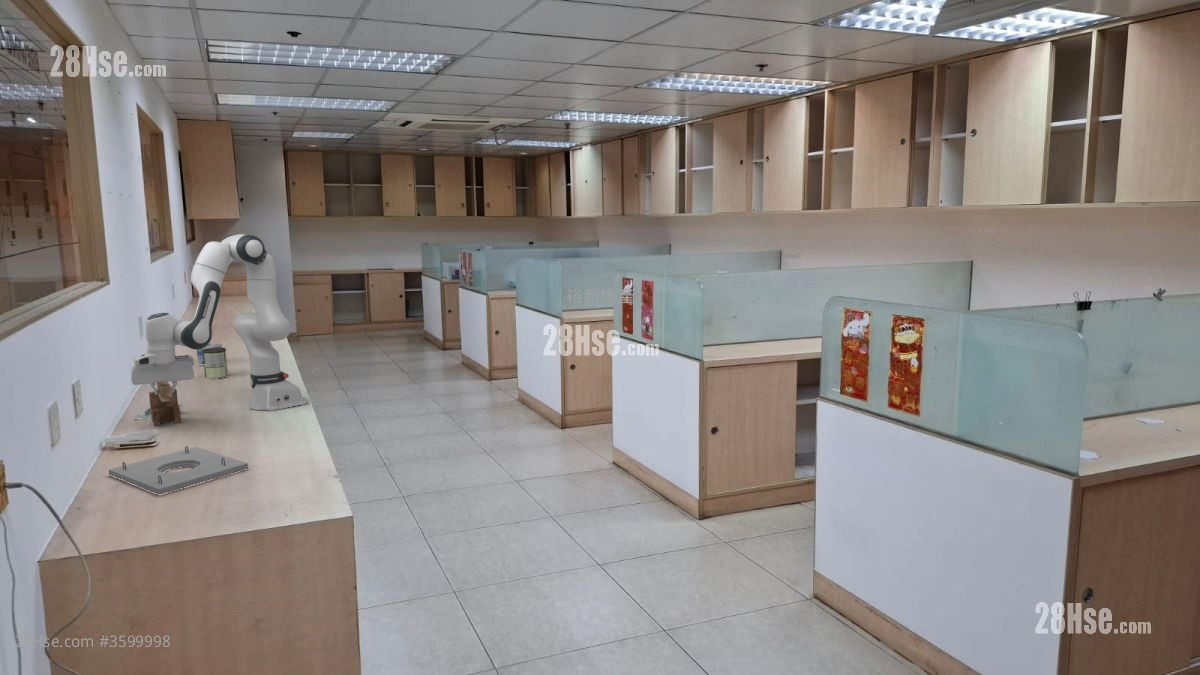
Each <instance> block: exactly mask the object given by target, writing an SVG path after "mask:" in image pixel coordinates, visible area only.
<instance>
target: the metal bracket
mask: <svg viewBox="0 0 1200 675" xmlns="http://www.w3.org/2000/svg"><path fill="white" fill-rule="evenodd" d="M178 406H179V408H180V409H181V407H182V406H183V404H181V403H178ZM133 418H142V419H151V420H150V421H152V418H151V408H150V407H149V408H148V409H145V410H144V413H143V414H137V415H135V416H134V417H133Z"/></svg>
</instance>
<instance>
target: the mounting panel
mask: <svg viewBox="0 0 1200 675" xmlns="http://www.w3.org/2000/svg"><path fill="white" fill-rule="evenodd" d="M179 467H194V468H189V469H188V470H183V471H175V472H165V473H163V472H164V471H166V470H169V469H174V468H179ZM179 469H180V468H179ZM244 469H248V470H249V463H248V462H245V461H242V460H238V459H236V458H232V457H229V456H226V455H223V454H220V453H216V452H213V451H210V450H207V449H205V448H201V447H198V446H194V447H191V448H189V447H188V446H187V445H186V446H185V447H184V449H183V450H179V451H174V452H172V453H167V454H163V455H160V456H156V457H151V458H148V459H144V460H140V461H136V462H133V463H128V464H126V462H125V461H123V462H122V465H120V466H118V467H112V468H109V469H108V475H109V474H110V475H112V476H115V477H117V478H120V479H123V480H125V481H127V482H130V483H132V484H135V485H137V486H139V487H142V488H144V489H146V490H149V491H151V492H154V493H157V494H163V493H166V492H170V491H173V490H177V489H180V488H184V487H187V486H190V485H193V484H197V483H200V482H203V481H207V480H210V479H214V478H218V477H221V476H224V475H228V474H231V473H235V472H238V471H241V470H244ZM174 470H175V469H174ZM235 474H236V473H235Z"/></svg>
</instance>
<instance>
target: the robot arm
mask: <svg viewBox="0 0 1200 675" xmlns="http://www.w3.org/2000/svg"><path fill="white" fill-rule="evenodd" d="M233 262H234V263H235V262H236V263H243V264H244V266H245V268H246V297H247V299H248V302H250V303H251V304H252V305H253V308H254V310H255V311H254V312H247V313H242V314H239V316H237V318H236V319H235V320H234V324H233V325H234V326H233V327H234V330H235V332H236V333H237V335H238V336H240V338H241V339H242V341H243V343H244V344H245V348H246V350H247V353H248V356H249V363H250V374H249V376H250V377H249V379H250V380H249V381H250V382H249V384H250V387H251V396H250V404H249V409H250V410H255V411H272V412H273V411H278V410H284V409H289V408H294V407H293V406H295V407H299V406H298V405H300V406H305V405H307V404H308V403H309V400H308V398H306V397H304V396H302V395H303V394H302V391H301V389H300V388H299V387H298V386H297V385H295V384H293V383H292V382H290V381H289V380H287V379H288V378H289V376H290V375H289V373H287V372H284V371H282V370H281V363H280V354H279V352H278V351H277V349H275V347H274V346H273V345H272V342H276V341H282V340H285V339H287V337H288V336H289V335H290V333H291V331H292V330H291V326H292V325H291V323H290V321H289V319H288V318H287V317H286V315H285V314H284V313H283V312H282V309H281V307H280V304H279V301H278V291H277V290H278V287H277V269H276V268H277V267H276V263H275V258H274V256H273V255H272V254H270V253H268V251H267V249H266V248H265V243H264V242H263V241H262V239H261V238H260V237H258V236H256V235H253V234H245V233H239V234H229V235H226V236H224V237H223V238H222V239H220V240H219V241H209V242H206V243H205V245H204V246H203V247H202V249H201V251H200V252H199V254H198V256H197V258H196V260H195V263H194V265H193V267H192V270H191V273H190V282H191V285H192V286H193V287H194V289H195V290H196V291H197V293H198V296H199V298H198V302H197V306H196V309H195V313H194V317H193V319H191V320H188V319H187V320H186V319H182V318H180V317H176V316H175V315H171V314H170V313H169V312H159V313H154V314H151V315H149V316H148V317H147V318H146V322H145V338H146V341H147V348H146V351H147V352H146V353H143V354H141V355H138V356H136V357H134V358H133V363H134V364H133V365H132V368H131V375H130V376H131V377H130V379H131V384H133V385H134V386H139V385H140V386H141V385H147V384H150V387H151V388H152V389H153V391H155V395H159V394H160V393H159V392H160V391H159V389H157V387H155V386H156V384H157V383H160V382H168V383H169V382H171V383H172V385H171V390H172V393H175V391H174V389H176V387H177V385H178V381H186V380H187V381H189V380H193V379H194V378H195V371H194V364H195V360H194V359H195V358H194V357H193V356H191V355H188V354H185V355H176V346H177V345H178V346H183V347H186V348H189V349H191V350H197V349H202V348H204V347H206V346H207V345H208V344H210V342H211V340H212V338H213V336H212V335H213V331H212V330H213V327H212V326H213V322H214V321H213V320H214V319H215V314H216V311H217V307H218V305H219V304H218V303H219V300H220V295H221V288H222V284H223V282H224V278H225V276H226V273H227V271H228V267H230V265H231V263H233ZM288 407H289V408H288Z"/></svg>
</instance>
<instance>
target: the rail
mask: <svg viewBox="0 0 1200 675" xmlns="http://www.w3.org/2000/svg"><path fill="white" fill-rule="evenodd" d="M171 388H172V385H170V383H169V382H160V383H156V389H159V391H160V392H159V393H160V394H159V395H158V396H159V398H160V400H161V401H162V402H165V401H172V390H171Z"/></svg>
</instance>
